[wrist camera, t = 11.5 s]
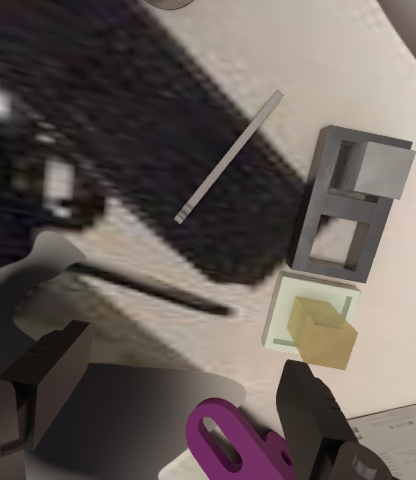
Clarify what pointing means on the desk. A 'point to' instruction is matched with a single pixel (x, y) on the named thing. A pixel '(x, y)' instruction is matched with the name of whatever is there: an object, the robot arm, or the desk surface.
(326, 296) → the parts tray
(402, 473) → the hard drive box
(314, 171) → the grey metal frame
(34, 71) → the desk surface
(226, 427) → the mounting bracket
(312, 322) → the golden yellow block
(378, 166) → the grey upright block
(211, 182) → the caliper
